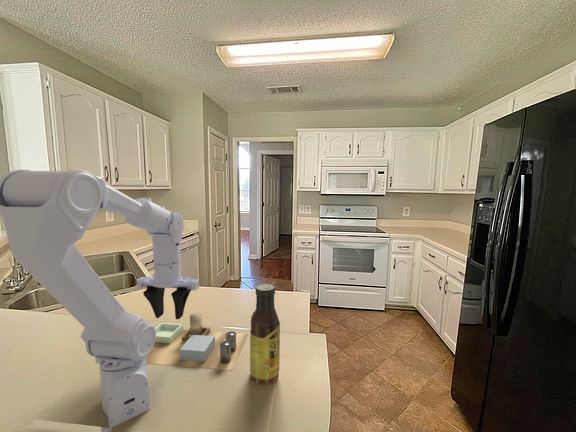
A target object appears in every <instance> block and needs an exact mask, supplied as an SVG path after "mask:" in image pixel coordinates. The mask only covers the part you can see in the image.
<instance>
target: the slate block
mask: <svg viewBox="0 0 576 432" xmlns="http://www.w3.org/2000/svg"><path fill="white" fill-rule="evenodd" d="M214 347H215V336H204V335H192V336H191V337H190V338H189V339H188V340H187V341H186V343H185V344H184V345H183V346H182V347H181V349H180V360H190V361H203V362H205V361H206V359H207V358H208V356H209V355H210V353H211V352H212V350H213V348H214Z"/></svg>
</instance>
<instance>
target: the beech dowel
mask: <svg viewBox="0 0 576 432" xmlns="http://www.w3.org/2000/svg"><path fill="white" fill-rule="evenodd" d="M202 327H203V314H202V312H199V311H197V312H192V313H191V314H189V328H190V335H191V336H192V335H202Z"/></svg>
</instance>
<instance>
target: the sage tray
mask: <svg viewBox="0 0 576 432" xmlns="http://www.w3.org/2000/svg"><path fill="white" fill-rule="evenodd" d="M155 330H156V339H155V343H162V344H171V343H172V342H173V341H174V340H175V339H176V338H177V337H178V336H179V334H180V333H181V332H182V331H183V330H184V323H173V322H172V323H169V322H161V323H159V325H157V326H156V327H155Z"/></svg>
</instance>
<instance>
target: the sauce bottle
mask: <svg viewBox="0 0 576 432" xmlns="http://www.w3.org/2000/svg"><path fill="white" fill-rule="evenodd" d="M275 294H276V286H274V285H273V284H269V283H262V284H259V285H256V287H255V295H256V298H255V299H256V304H255V307H256V308H255V309H254V311H253V312H252V315H251V316H250V319H251V320H250V332H249V333H250V335H249V342H250V343H249V348H250V349H249V352H250V353H249V364H250V365H249V368H250V369H249V371H250V378H251V380H252V382H254V383H255V384H258V385H261V386H266V385H267V386H268V385H270V384H272V383H274V382H275V381H277V380H278V378H279V373H280V358H281V357H280V353H281V352H280V350H281V348H280V347H281V345H280V344H281V342H280V341H281V338H280V337H281V336H280V335H281V322H280V320H279V317H278V313H277V310H276V307H275Z"/></svg>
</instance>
